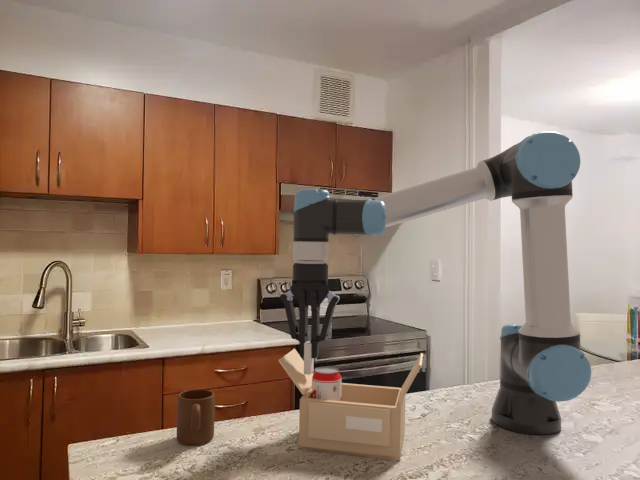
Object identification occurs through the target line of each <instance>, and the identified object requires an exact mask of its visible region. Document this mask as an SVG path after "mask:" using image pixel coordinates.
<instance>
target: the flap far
mask: <svg viewBox="0 0 640 480" xmlns="http://www.w3.org/2000/svg"><path fill="white" fill-rule="evenodd" d="M278 362H279V364H280V365H281V367H282V369H283V370H284V371H285V373H286V374H287V375H288V377H289V378H290V379H291V381H292V382H293V384H294V385H295V386H296V388H297V389H298V390H299V392H300V393H301V395H302V396H303V395H304V394H305V393H306V392H307V391H308V389H309V388H310V387H311V386H312V377H313V375H314V372H313V373H312V374H311V375H307V374H304V358H303V357H300V353H299V352H298V351H297V349H296V348H293V349H292V350H290V351H289V352H287V354H285V355H283V356H282V357H281V358H279V359H278Z"/></svg>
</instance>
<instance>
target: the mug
mask: <svg viewBox="0 0 640 480" xmlns="http://www.w3.org/2000/svg"><path fill="white" fill-rule="evenodd" d="M215 401H216V400H215V393H214V392H213V391H212V390H209V389H202V388H201V389H199V388H198V389H197V388H196V389H188V390H184V391H181V392H180V393H179V394H178V395H177V401H176V440H177V442H178V443H179V444H181V445H184V446H188V447H189V446H191V447H193V446H201V445H206V444H208V443H209V442H211V441H212V440H213V439H214V436H215V435H214V434H215V415H216V413H215V409H216V408H215V406H216V405H215V404H216V402H215Z"/></svg>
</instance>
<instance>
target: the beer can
mask: <svg viewBox="0 0 640 480" xmlns="http://www.w3.org/2000/svg"><path fill="white" fill-rule="evenodd" d="M339 371H340V370H339V368H337V367H333V366H319V367H316V368H315V369H314V372H313V374H314V375H313V377H312V398H313V399H324V400H335V401H341V393H342V383H343V381H342V375H341V374H340V372H339Z"/></svg>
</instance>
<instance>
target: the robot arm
mask: <svg viewBox="0 0 640 480" xmlns="http://www.w3.org/2000/svg"><path fill="white" fill-rule="evenodd" d="M580 166H581V155H580V151H579V149H578V147H577V145H576V144H575V143H574V142H573V140H571V139H570V138H569V137H567V136H566V135H565V134H562V133H561V132H557V131H550V130H546V131H541V132H537V133H533V134H530V135H528V136H525V138H523V140H521V141H519V142H517V143H516V144H514V145H512V146H510V147H509V148H507V149H505V150H504V151H502V152H500V153H498V154H496V155H495V156H492V157H490V158H487V159H484V160H480V161H478V163H477V165H476V166H475V167H472V168H469V169H465V170H462V171H459V172H456V173H455V172H454V173H452V174H448V175H446V176H443V177H440V178H436V179H433V180H430V181H426V182H423V183H420V184H417V185H412V186H410V187H406V188H403V189H400V190H397V191H393V192H390V193H387V194H383V195H380V196H377V197H374V198H368V199H334V198H331V196H330V191H328V190H327V189H322V188H321V189H317V188H304V189H299V190H297V191H296V192H295V194H294V206H293V211H292V212H293V245H292V259H293V261H295V262H293V264H292V283H291V286H290V289H289V290H288V291H287V292H284V293H282V294H280V296H279V298H280V300H281V302H282V304H283V305H284V310H285V315H286V318H287V324H288V327H289V328H288V329H289V333H290V338H291V339H292V340H296V341H298V343H299V355H300V357H301V358H303V361H304V374H307V375H311V374H312V373H313V374H314V373H315V369H314V366H315V365H314V362H315V359H317V358H318V357H319V349H320V347H319V346H320V345H319V343H320V342H324V341H326V340H327V338H328V335H329V332H330V328H331V325H332V324H331V323H332V320H333V318H334V317H333V316H334V312H335V309H336V306H337V304H338V303H339V301H340V299H341V296H340V295H338V294H337V295H336V294H335V293H334V292H332V291H331V287H330V285H329V265H328V263H326V262H327V261H328V260H329V242H330V241H329V235H334V236H335V235H337V236H338V235H345V236H352V237H360V236H361V237H362V236H368V237H372V236H381V235H383V234H385V232H386V228H389V227H391V226H396V225H398V224H404V223H406V222H409V221H413V220H416V219H420V218H423V217H427V216H429V215H432V214H437V213H439V212H442V211H446V210H449V209H450V210H451V209H453V208H457V207H460V206H464V205H466V204H470V203H473V202H476V201H479V200H484V199H486V200H488V201H495V200H498V199H499V200H500V199H503V198H508V197H509V198H510V197H511V203H513V204H514V205H515V206H516V207H517V208H518V209H519V215H520V236H521V253H522V254H521V257H522V271H523V273H522V274H523V292H524V293H523V294H524V312H525V323H524V324H505V325H503V326H502V328H501V330H500V331H501V332H500V337H499V340H500V361H499V362H500V364H499V367H500V371H499V372H500V373H499V375H500V376H499V387H498V388H499V389H498V391H497V394H496V397H495V399H494V401H493V404H492V407H491V421H492V422H493V423H494V424H496V425H497V426H499V427H501V428H503V429H506V430H509V431H512V432H515V433H516V432H517V433H520V434H521V433H522V434H527V435H528V434H530V435H551V434H552V435H553V434H556V433H558V432H560V431H561V430H562V417H561V414H560V410H559V408H558V405H557V402H567V401H570V400H573V399H574V400H575V399H576V398H577V397H579V396H580V395H581V394H582V393H583V392H584V391H585V390H586V389H587V387H588V386H589V384H590V382H591V379H592V366H591V363H590V361H589V359H588V358H587V356H586V354H585V353H584V352H583V351H581V333H580V330H579V329H578V328H576V326H574V325H573V323H572V320H571V303H570V300H571V299H570V282H569V281H570V280H569V265H568V262H569V261H568V246H567V245H568V244H567V240H568V239H567V228H566V227H567V226H566V225H567V224H566V205H567V204H568V203H569V202H570V201H571V200H572V199H573V181H574V179H575V178H576V176H577V175H578V173H579V170H580V168H581V167H580ZM326 298H327V300H326V301H327V303H328V305H327V307H326V311H325V315H324V317H323V321H322V326H321V331H320V322H321V321H320V314H321V313H320V311H321V304H322V303H323V302H324V301H325V299H326ZM294 299H295V300H296V302H297V303H298V305H299V306H298V307H299V309H298V310H299V322H298V321H297V316H296V311H295V306H294V302H293V300H294ZM309 307H310V311H311V319H310V321H311V322H310V323H311V324H310V325H311V326H310V329H311V330H310V331H311V332H310V340H308V339H309V337H308V329H309V326H308V325H309V324H308V323H309ZM298 323H299V325H298Z"/></svg>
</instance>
